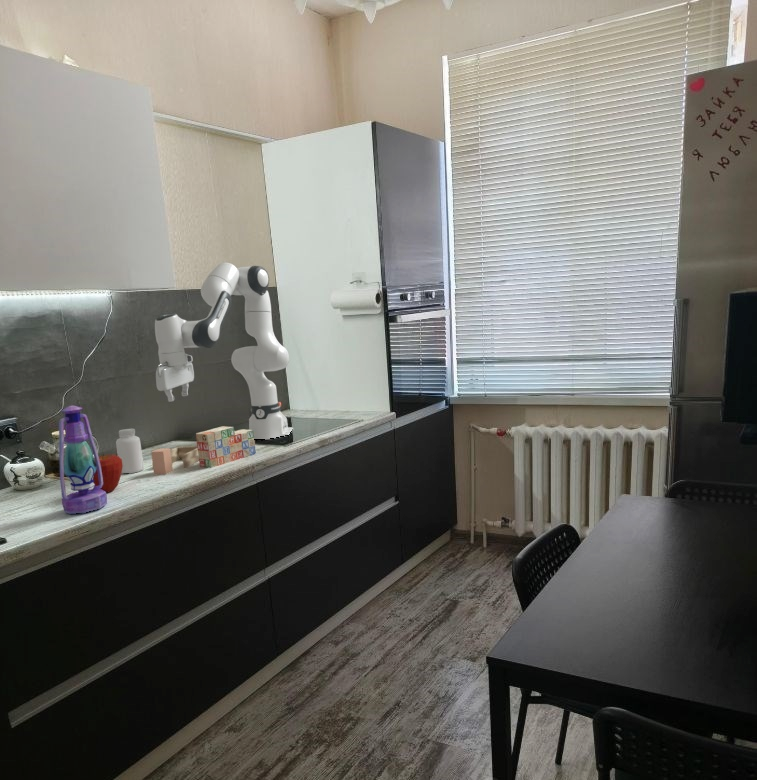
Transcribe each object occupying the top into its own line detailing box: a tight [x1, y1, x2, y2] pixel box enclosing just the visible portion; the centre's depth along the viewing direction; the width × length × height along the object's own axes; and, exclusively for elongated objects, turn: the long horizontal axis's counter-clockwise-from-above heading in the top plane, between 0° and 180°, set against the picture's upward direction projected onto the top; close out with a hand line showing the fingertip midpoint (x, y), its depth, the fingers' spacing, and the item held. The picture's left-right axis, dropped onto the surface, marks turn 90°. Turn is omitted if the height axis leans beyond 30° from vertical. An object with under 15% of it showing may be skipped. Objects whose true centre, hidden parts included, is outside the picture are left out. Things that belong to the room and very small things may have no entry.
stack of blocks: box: [195, 425, 257, 469], centre depth 222 cm, size 21×6×12 cm, turn 145°
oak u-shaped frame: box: [170, 445, 199, 468], centre depth 223 cm, size 14×11×4 cm
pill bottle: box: [115, 428, 145, 474], centre depth 215 cm, size 8×8×15 cm
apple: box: [93, 453, 123, 493], centre depth 191 cm, size 11×11×12 cm
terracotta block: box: [150, 447, 174, 475], centre depth 210 cm, size 4×4×8 cm
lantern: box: [58, 405, 108, 515], centre depth 172 cm, size 13×12×30 cm
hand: (178, 398), depth 217 cm, fingers open, 8 cm apart
